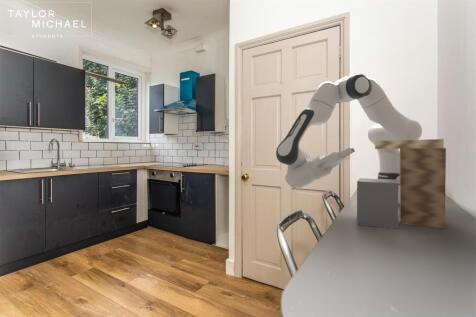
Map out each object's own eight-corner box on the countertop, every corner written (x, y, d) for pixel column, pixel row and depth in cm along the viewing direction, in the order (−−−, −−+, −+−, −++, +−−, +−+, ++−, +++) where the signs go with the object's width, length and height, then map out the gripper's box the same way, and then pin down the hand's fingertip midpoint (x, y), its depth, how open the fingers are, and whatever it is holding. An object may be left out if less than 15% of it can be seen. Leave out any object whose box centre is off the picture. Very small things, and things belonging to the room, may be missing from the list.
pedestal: (400, 223, 87) (401, 148, 86) (399, 216, 95) (399, 148, 94) (444, 228, 81) (445, 148, 80) (439, 220, 89) (440, 148, 88)
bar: (375, 149, 93) (375, 141, 93) (375, 148, 96) (375, 141, 95) (443, 148, 83) (443, 139, 83) (441, 148, 85) (442, 139, 85)
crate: (357, 224, 87) (357, 181, 86) (359, 217, 95) (359, 178, 95) (398, 229, 81) (398, 183, 80) (396, 221, 89) (397, 179, 89)
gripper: (310, 160, 96) (344, 141, 90) (322, 158, 114) (351, 143, 108) (319, 174, 95) (353, 156, 89) (329, 171, 112) (359, 156, 106)
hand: (352, 149), depth 98 cm, fingers open, 8 cm apart
